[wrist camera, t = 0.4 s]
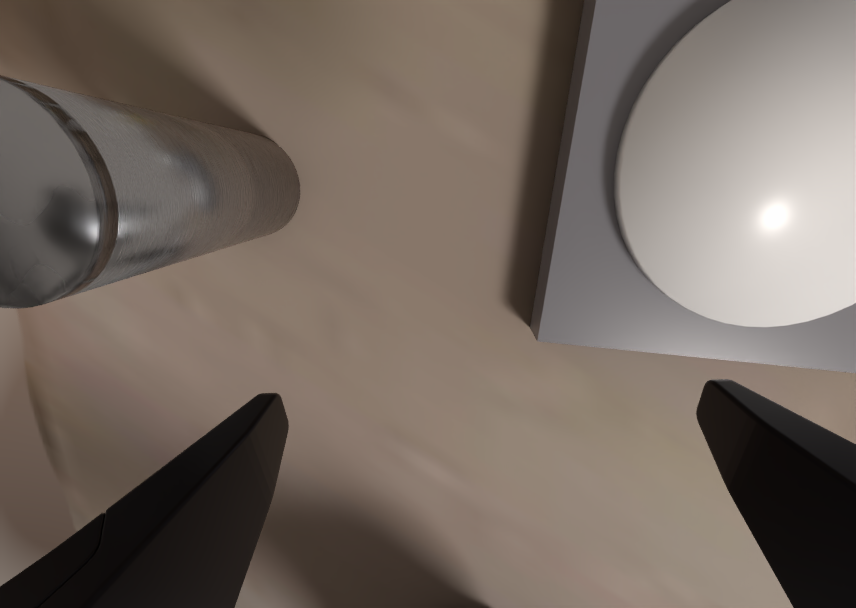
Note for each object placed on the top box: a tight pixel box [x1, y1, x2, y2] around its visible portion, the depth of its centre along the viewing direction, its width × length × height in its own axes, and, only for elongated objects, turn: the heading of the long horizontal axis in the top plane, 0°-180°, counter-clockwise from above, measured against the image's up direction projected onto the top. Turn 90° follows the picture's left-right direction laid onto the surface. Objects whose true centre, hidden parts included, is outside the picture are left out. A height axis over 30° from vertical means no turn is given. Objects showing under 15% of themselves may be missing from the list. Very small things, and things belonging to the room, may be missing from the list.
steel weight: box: [0, 75, 300, 308], centre depth 15 cm, size 5×5×13 cm
